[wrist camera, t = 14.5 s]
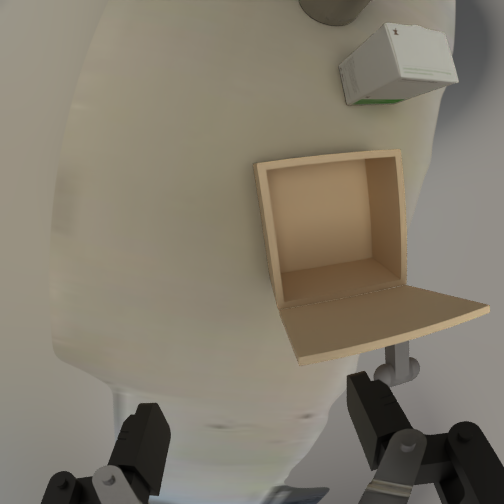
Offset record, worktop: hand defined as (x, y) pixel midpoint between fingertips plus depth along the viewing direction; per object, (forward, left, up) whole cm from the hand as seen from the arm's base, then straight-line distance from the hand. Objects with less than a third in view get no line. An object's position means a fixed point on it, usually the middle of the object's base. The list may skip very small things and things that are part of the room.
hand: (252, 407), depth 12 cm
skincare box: (-19, +21, -32) cm, 43 cm away
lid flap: (+5, +11, -14) cm, 18 cm away
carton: (-1, +11, -32) cm, 34 cm away
